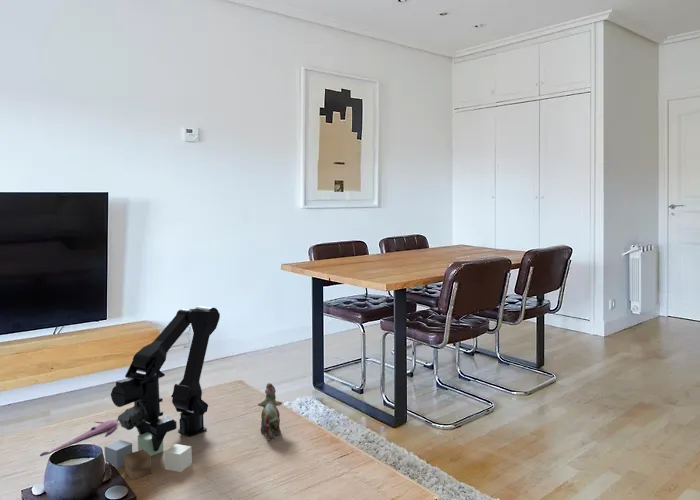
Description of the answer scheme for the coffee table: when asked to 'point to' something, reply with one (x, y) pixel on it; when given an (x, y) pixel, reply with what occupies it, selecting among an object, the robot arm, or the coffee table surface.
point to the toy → (91, 433)
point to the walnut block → (137, 464)
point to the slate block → (117, 452)
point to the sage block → (148, 444)
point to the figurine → (270, 413)
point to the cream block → (178, 457)
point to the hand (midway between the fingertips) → (150, 448)
